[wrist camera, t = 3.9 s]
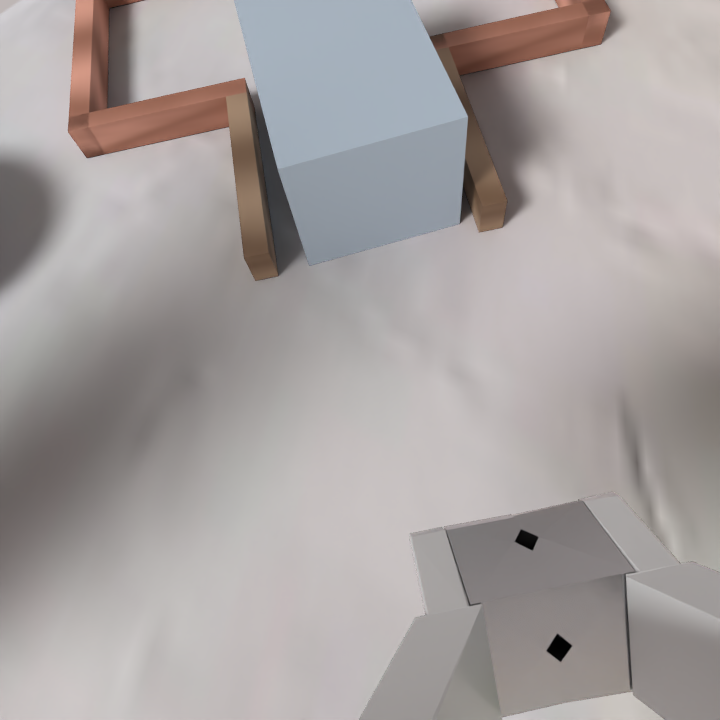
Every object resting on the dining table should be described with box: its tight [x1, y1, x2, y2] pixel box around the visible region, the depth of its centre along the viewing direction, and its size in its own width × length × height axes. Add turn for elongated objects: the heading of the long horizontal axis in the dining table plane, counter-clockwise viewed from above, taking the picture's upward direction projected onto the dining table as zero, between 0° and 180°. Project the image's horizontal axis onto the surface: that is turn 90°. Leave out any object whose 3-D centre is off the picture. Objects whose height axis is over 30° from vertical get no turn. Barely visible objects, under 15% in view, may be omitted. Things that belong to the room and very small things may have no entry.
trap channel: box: [68, 0, 611, 281], centre depth 35 cm, size 32×31×2 cm
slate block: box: [234, 0, 468, 266], centre depth 29 cm, size 12×8×7 cm, turn 15°
